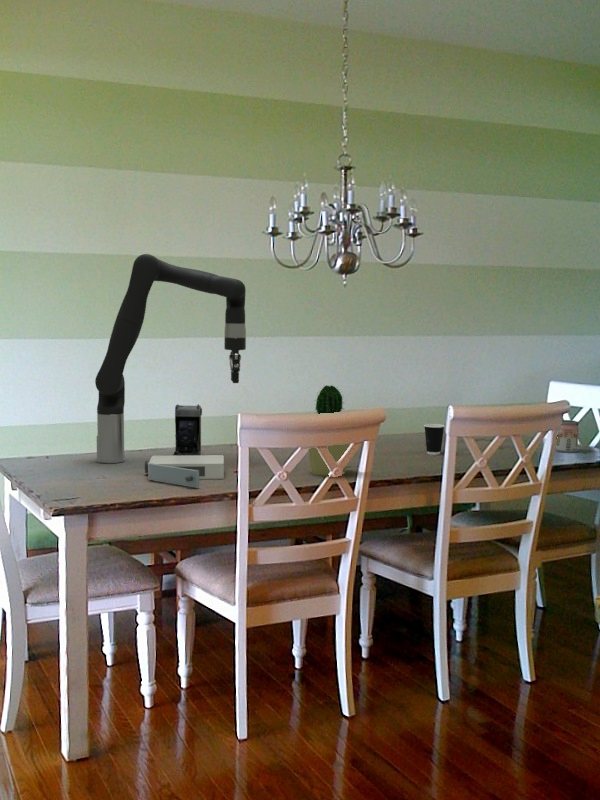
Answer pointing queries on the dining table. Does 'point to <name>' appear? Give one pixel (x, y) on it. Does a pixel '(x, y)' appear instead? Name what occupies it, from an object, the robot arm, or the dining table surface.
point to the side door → (174, 475)
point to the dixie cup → (434, 438)
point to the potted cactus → (327, 403)
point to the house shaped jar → (568, 437)
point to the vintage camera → (188, 430)
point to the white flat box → (193, 464)
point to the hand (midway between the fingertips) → (234, 382)
